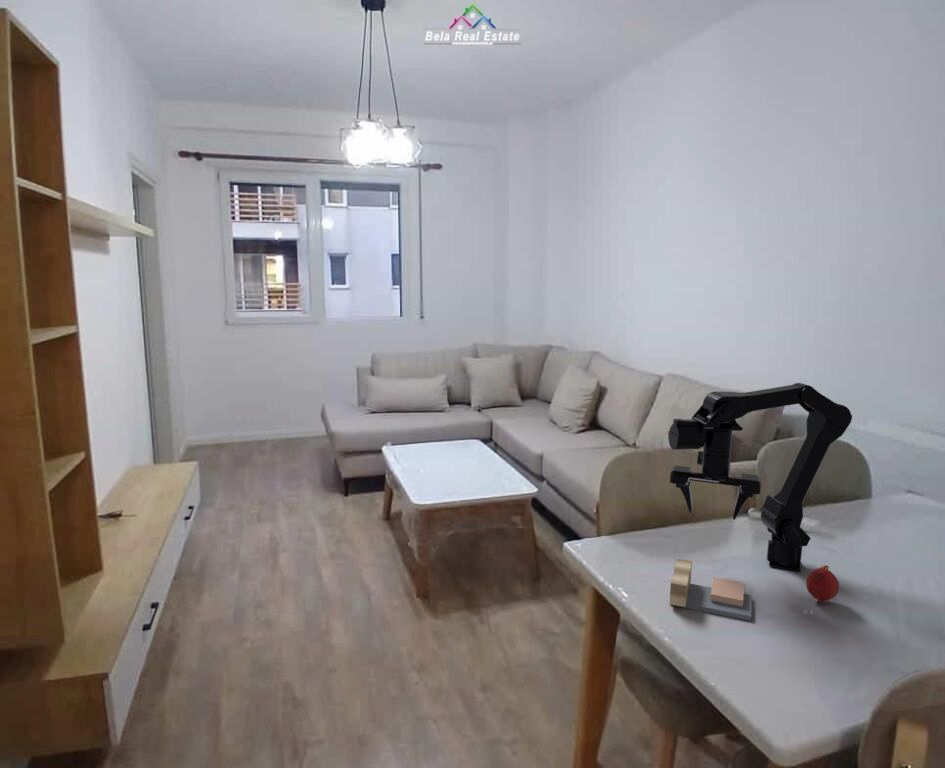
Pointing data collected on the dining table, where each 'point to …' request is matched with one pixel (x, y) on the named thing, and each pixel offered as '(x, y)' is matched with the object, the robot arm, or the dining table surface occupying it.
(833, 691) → the dining table surface
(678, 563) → the curved wooden plank
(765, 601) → the dining table surface
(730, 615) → the mat
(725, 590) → the tile
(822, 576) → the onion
